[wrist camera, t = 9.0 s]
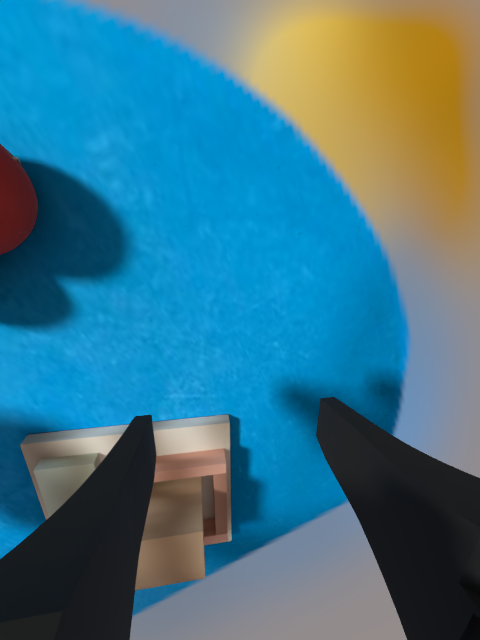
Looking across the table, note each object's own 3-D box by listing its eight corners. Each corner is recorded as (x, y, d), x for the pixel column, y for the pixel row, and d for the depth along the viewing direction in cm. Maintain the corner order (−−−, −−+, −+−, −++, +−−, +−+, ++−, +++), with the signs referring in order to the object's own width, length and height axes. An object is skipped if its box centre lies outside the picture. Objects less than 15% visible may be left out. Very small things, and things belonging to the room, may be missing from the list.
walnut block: (144, 519, 25) (133, 590, 20) (138, 476, 23) (123, 543, 18) (203, 511, 25) (205, 578, 21) (200, 468, 23) (202, 531, 19)
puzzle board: (67, 555, 26) (55, 589, 24) (27, 434, 21) (7, 461, 19) (230, 530, 28) (233, 558, 26) (228, 414, 23) (232, 436, 21)
